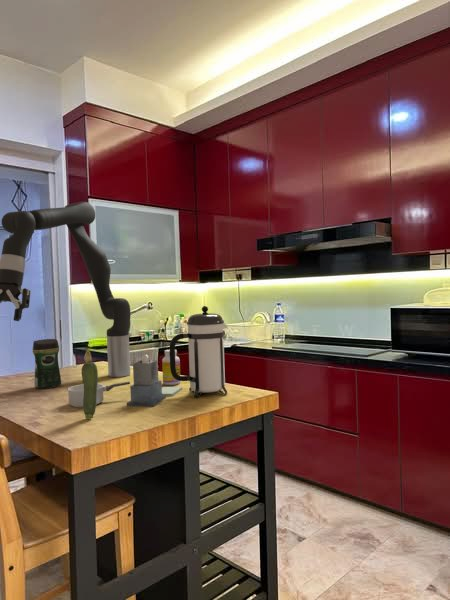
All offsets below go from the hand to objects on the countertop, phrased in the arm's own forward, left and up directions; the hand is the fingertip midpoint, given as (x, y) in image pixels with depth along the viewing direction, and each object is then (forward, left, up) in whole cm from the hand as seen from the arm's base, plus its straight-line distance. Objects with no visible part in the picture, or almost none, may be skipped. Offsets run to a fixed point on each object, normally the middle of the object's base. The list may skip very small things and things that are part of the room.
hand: (3, 320), depth 139 cm
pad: (-24, +44, -28) cm, 57 cm away
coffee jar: (-30, -6, -28) cm, 42 cm away
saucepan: (-10, +27, -28) cm, 40 cm away
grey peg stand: (-11, +43, -28) cm, 52 cm away
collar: (-11, +43, -22) cm, 49 cm away
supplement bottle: (-38, +42, -28) cm, 63 cm away
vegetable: (+8, +34, -28) cm, 45 cm away
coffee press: (-23, +59, -28) cm, 69 cm away
